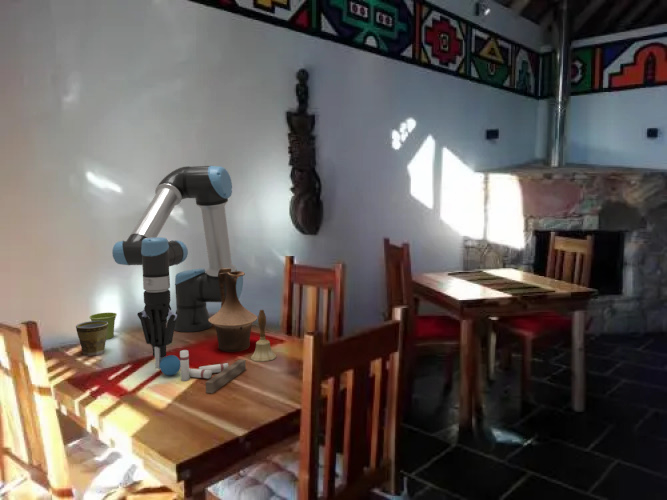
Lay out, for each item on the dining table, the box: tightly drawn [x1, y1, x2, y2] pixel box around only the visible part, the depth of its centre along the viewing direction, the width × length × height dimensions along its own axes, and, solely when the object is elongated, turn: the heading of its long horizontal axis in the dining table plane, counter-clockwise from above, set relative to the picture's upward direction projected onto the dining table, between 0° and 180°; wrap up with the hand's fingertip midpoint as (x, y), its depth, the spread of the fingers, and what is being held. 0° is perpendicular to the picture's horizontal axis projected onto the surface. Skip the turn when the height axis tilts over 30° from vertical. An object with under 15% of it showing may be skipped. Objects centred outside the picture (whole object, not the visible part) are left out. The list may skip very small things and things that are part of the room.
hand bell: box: [250, 309, 277, 363], centre depth 174 cm, size 8×8×16 cm
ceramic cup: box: [75, 320, 108, 357], centre depth 182 cm, size 13×10×10 cm
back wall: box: [205, 358, 247, 394], centre depth 154 cm, size 20×2×3 cm, turn 163°
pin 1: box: [179, 349, 191, 382], centre depth 155 cm, size 2×2×8 cm
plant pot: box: [89, 312, 118, 340], centre depth 200 cm, size 9×9×9 cm
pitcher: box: [208, 268, 258, 353], centre depth 185 cm, size 18×17×28 cm
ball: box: [159, 354, 181, 377], centre depth 159 cm, size 6×6×6 cm
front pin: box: [189, 367, 213, 380], centre depth 157 cm, size 2×2×8 cm
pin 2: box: [198, 362, 230, 374], centre depth 161 cm, size 2×2×8 cm
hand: (160, 366), depth 160 cm, fingers closed
